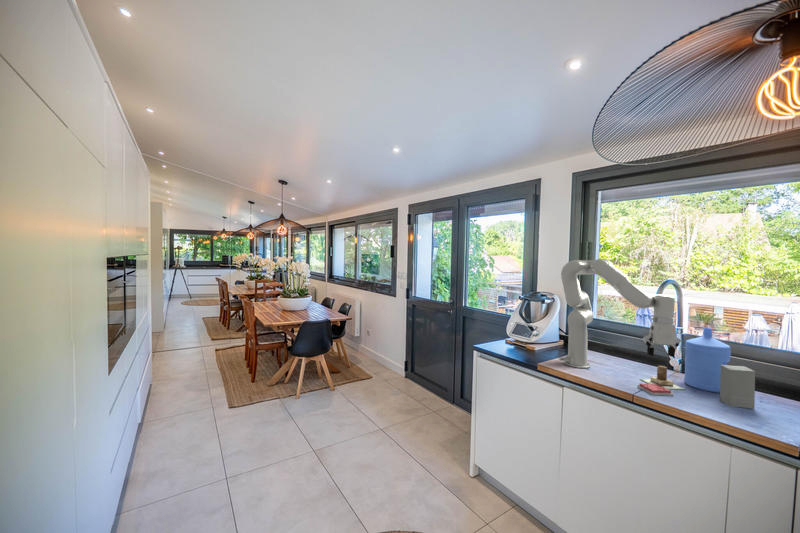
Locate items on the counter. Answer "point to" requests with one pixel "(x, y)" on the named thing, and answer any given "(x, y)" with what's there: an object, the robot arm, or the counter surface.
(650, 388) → the ink pad
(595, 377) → the counter surface
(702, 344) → the water jug
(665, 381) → the wooden stamp
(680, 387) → the marked square
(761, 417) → the counter surface
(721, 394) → the skincare box
